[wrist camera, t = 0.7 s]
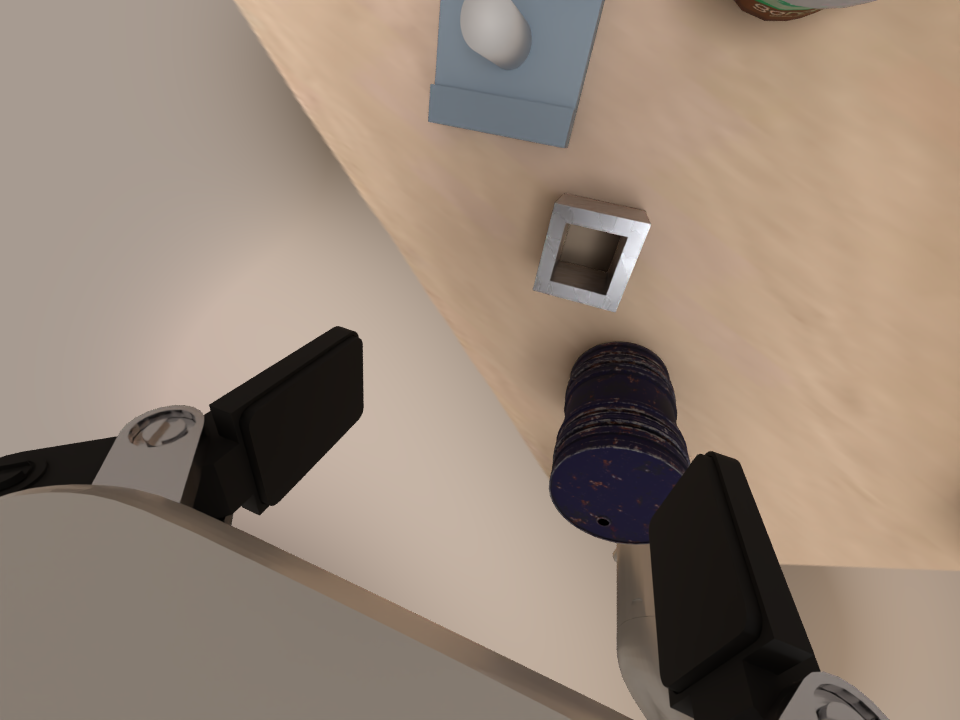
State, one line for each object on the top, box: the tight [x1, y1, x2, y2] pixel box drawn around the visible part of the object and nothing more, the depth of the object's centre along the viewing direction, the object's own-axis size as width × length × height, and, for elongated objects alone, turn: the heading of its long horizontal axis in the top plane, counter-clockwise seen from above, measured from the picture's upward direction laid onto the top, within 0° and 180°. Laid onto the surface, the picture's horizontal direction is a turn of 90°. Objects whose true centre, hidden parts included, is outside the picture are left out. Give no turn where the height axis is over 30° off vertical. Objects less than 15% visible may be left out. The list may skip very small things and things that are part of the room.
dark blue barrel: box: [549, 342, 690, 545], centre depth 31 cm, size 10×10×15 cm
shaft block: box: [428, 0, 605, 148], centre depth 23 cm, size 11×11×8 cm
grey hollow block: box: [533, 193, 651, 312], centre depth 29 cm, size 7×7×6 cm
